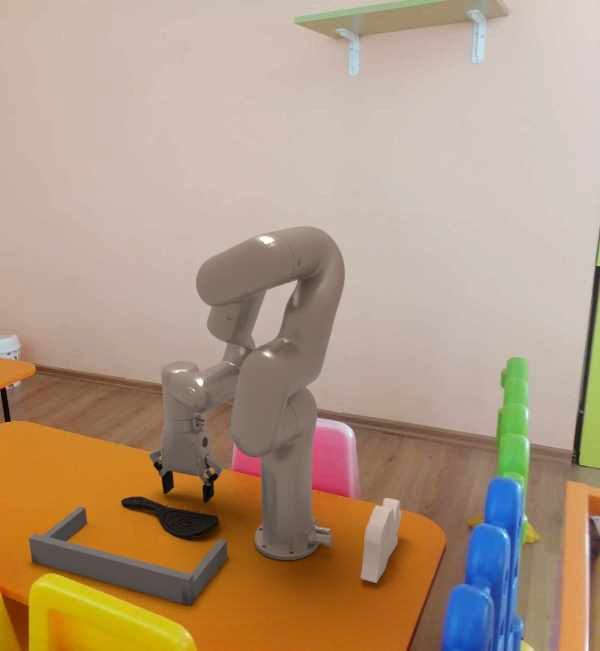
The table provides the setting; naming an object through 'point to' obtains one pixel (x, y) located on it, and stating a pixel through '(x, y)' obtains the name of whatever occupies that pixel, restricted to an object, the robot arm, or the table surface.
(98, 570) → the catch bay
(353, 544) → the table surface
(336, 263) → the robot arm
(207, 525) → the hairbrush
